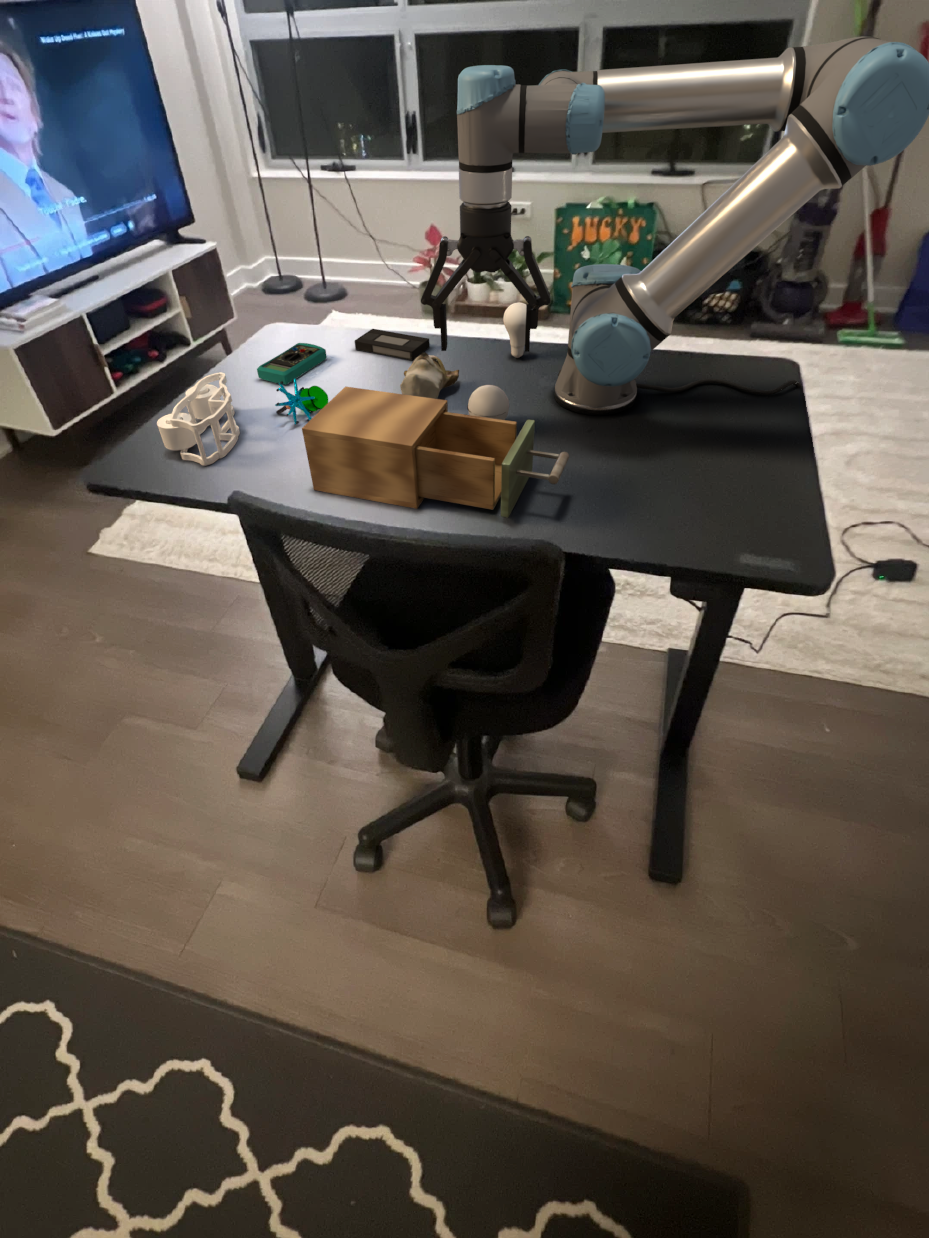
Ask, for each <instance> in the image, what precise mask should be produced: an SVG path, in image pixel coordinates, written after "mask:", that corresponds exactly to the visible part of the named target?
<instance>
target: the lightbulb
mask: <svg viewBox="0 0 929 1238" xmlns="http://www.w3.org/2000/svg"><path fill="white" fill-rule="evenodd" d="M526 304H527V303H524V302H519V301H518V302H514V303H511V304H510V305H509V306H508V307H507V308H506V309H505V311H504V313H503V317H502V322H503V325H504V328H505V330H506V332H507V334H508V337H509V345H510V354H511V356H512V357H514V358H516V359H519V358H520V357H522V356H523V355H524V352H525V329H526Z"/></svg>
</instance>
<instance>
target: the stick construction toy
mask: <svg viewBox="0 0 929 1238" xmlns="http://www.w3.org/2000/svg"><path fill="white" fill-rule="evenodd" d="M291 383H293V387H294V394H293V393H291V392H289V391H287V389H286V388H285V386H284V384H283V381H281V382H280V383H278V385H279V387H278V388H277V389H276V392H281V393H282V394H283V395H285V397H286V399H287V400H288V401H283V402H277V403H275V404H274V406H275V407H280V408H279V409H277V410H276V414H277V415H281V414H282V413H284V412H285V411H287V410H289V411H288V412H287V413H286V414H285V416H286V417H289V416H291V415H292V419H293V424H294V425H297V424H299V420H297V419H298V418H297V409H298V410H301V411H302V412H303V413H304V414H305V417H307V419H306V421H307V422H309V421H310V420H311V419H312V418H313V417H311V415H312V414H313V413H315V412H317V411H320V410H321V409H322V408H324V407H325V406H326V405H327V404H328V403H329V395H328V393H327V392H326V391H325V390H324V389H323V388H322V387H320V386H318V385H311V386H310V387H304V386H302V387H300V388H299V387H298V381H297V378H294V379H293V380H292V382H291ZM296 408H297V409H296Z"/></svg>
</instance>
